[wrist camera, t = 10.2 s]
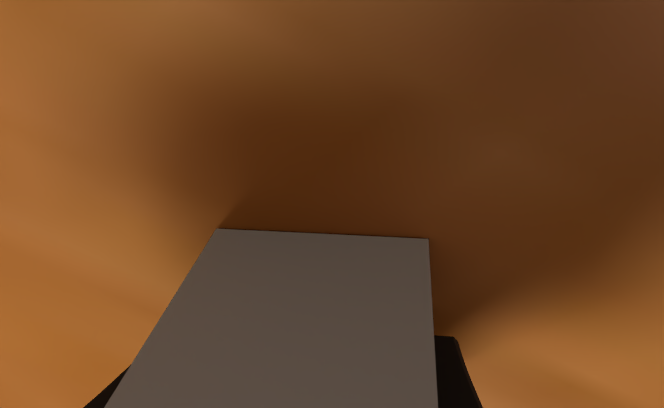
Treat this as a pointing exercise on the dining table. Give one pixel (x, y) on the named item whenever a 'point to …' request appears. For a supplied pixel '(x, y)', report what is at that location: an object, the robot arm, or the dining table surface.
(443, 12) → the dining table surface
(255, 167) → the dining table surface
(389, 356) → the slate block
